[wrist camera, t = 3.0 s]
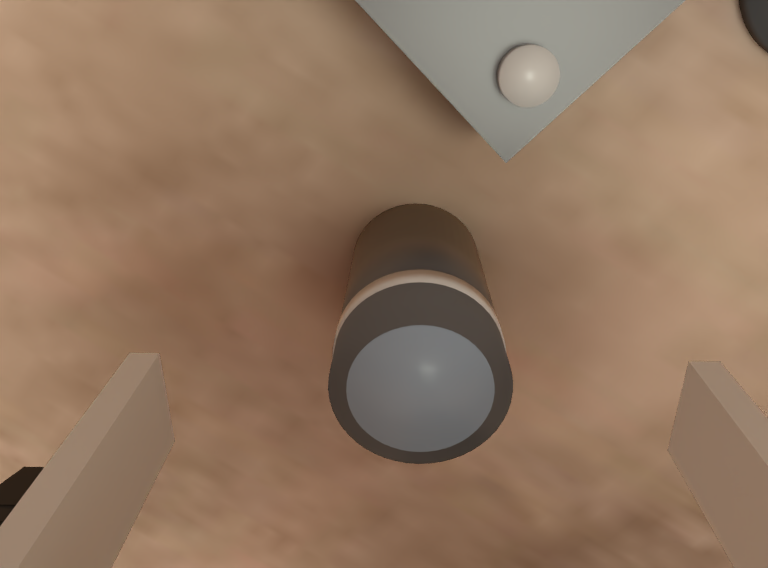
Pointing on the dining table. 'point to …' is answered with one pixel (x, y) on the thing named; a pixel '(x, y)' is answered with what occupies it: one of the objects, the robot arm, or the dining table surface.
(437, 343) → the lens
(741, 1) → the lens cap
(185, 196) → the dining table surface
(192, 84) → the dining table surface
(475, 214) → the dining table surface
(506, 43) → the camera body
